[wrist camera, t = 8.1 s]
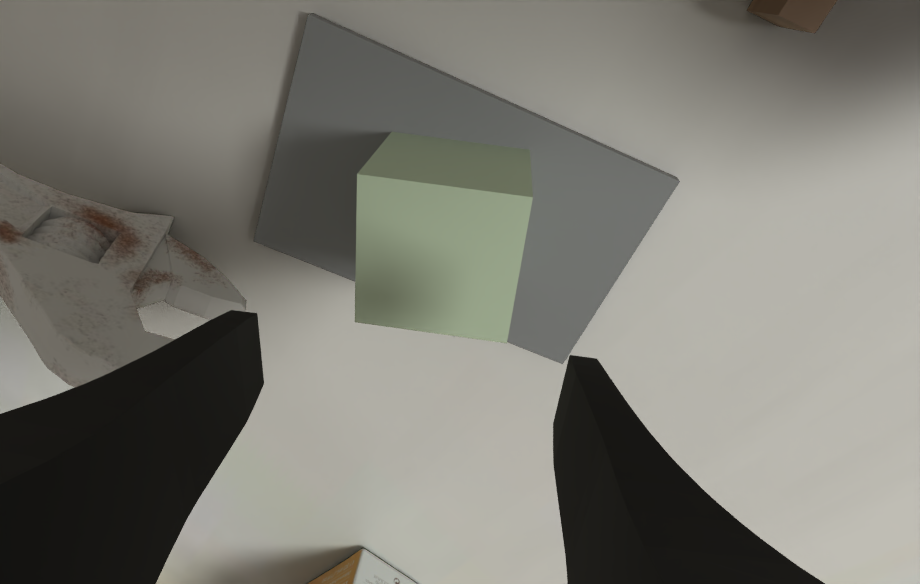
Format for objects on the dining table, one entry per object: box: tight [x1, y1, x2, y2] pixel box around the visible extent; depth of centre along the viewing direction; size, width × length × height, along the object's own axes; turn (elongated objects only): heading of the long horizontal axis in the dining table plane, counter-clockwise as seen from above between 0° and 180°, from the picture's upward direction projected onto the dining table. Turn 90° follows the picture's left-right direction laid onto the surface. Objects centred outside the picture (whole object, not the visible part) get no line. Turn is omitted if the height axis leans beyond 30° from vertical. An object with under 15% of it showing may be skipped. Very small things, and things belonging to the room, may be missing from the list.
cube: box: [355, 132, 533, 343], centre depth 19 cm, size 5×5×5 cm
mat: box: [254, 13, 680, 364], centre depth 22 cm, size 14×9×1 cm, turn 68°
